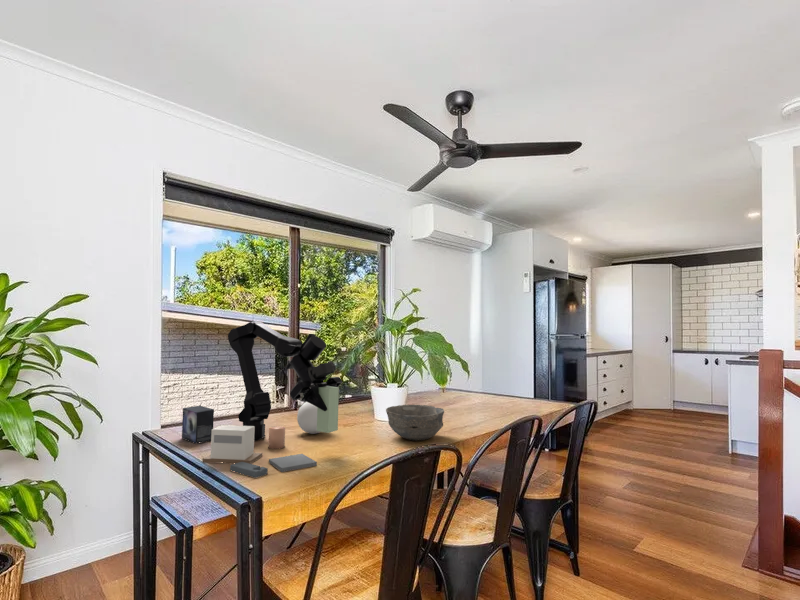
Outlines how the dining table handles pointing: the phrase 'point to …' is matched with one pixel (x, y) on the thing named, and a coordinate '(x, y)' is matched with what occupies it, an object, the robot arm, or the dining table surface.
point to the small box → (197, 423)
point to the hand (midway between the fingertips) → (331, 409)
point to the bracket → (249, 469)
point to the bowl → (415, 421)
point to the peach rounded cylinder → (276, 437)
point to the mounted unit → (232, 445)
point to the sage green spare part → (328, 410)
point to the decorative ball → (308, 418)
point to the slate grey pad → (292, 462)
